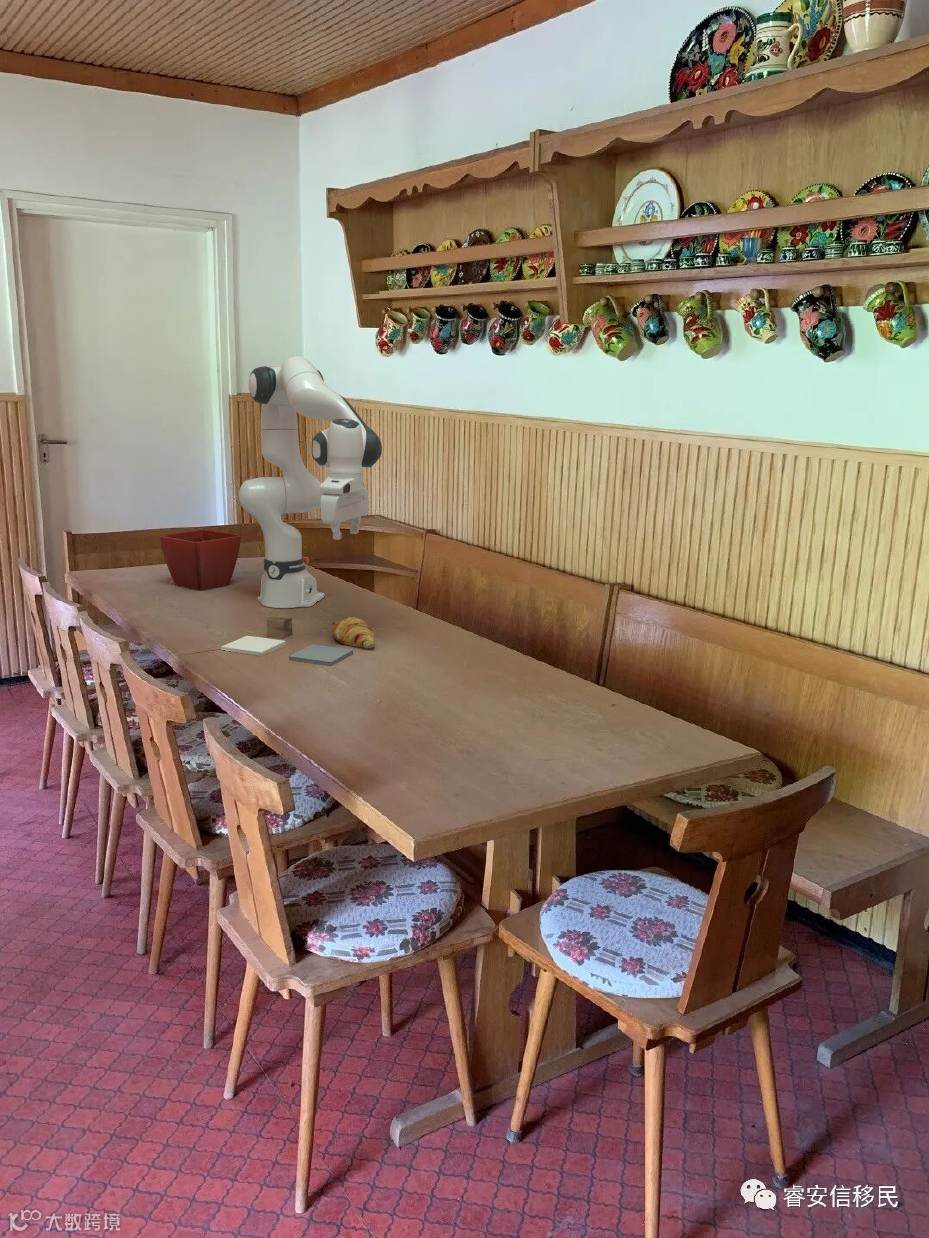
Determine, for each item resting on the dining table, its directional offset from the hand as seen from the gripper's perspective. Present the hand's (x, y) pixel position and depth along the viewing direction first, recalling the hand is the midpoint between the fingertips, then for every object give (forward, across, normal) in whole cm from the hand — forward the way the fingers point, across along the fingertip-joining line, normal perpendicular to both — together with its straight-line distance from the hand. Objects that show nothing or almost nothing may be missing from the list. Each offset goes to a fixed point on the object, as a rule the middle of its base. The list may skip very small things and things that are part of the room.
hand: (346, 536), depth 263 cm
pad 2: (+29, +14, 0) cm, 32 cm away
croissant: (+29, -2, +1) cm, 29 cm away
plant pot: (+30, -41, -75) cm, 90 cm away
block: (+29, +2, -20) cm, 35 cm away
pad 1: (+29, +15, -20) cm, 38 cm away
